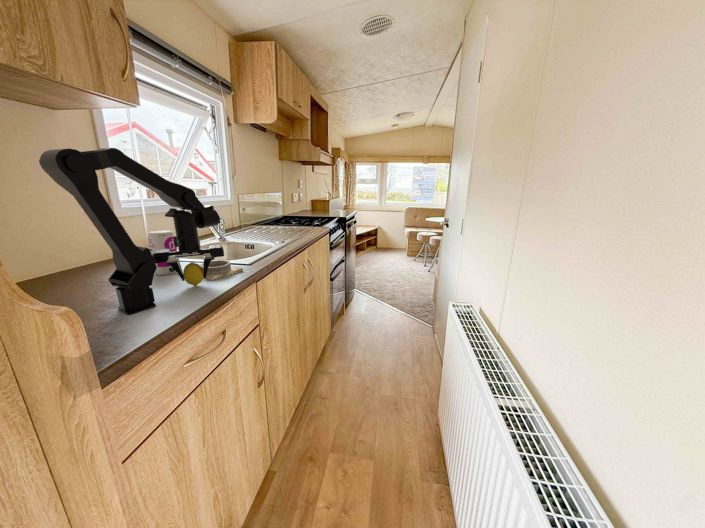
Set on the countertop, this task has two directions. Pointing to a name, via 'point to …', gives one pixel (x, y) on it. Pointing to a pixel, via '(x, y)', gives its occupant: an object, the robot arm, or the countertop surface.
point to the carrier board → (220, 269)
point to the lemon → (193, 274)
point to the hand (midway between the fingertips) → (194, 279)
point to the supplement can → (159, 242)
